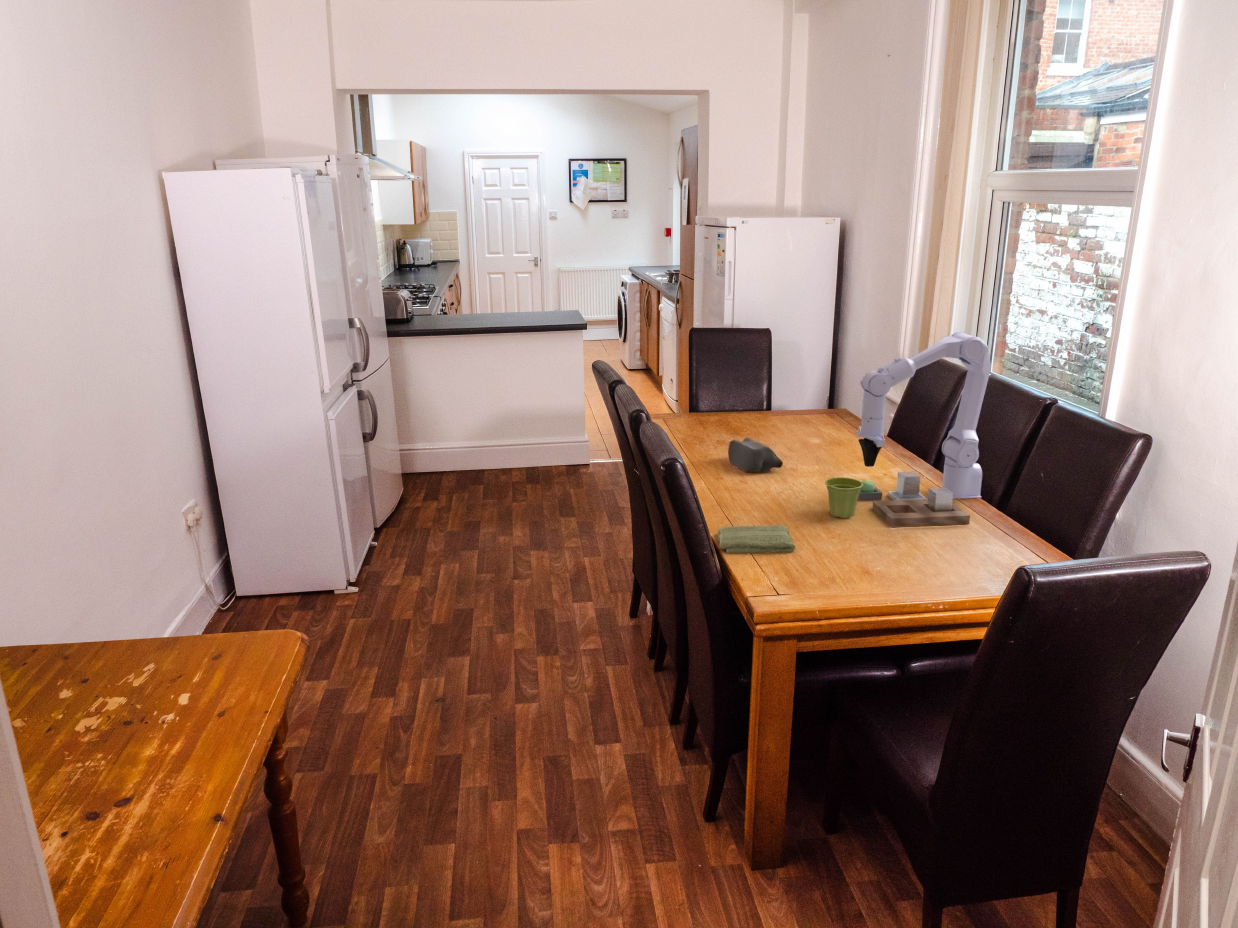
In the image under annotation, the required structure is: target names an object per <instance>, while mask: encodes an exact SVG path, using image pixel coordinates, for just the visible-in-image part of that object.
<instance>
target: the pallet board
mask: <svg viewBox="0 0 1238 928" xmlns="http://www.w3.org/2000/svg"><path fill="white" fill-rule="evenodd" d="M927 504H928V498H927V499H923V500H896V501H894V500H872V507H871V508H872V510H873V512H875V513H876V514H877V515H878V516H879V517H881V518H882V519H883V520H884V521H885V522H886V523H887V524H888V525H890V526H889V527H890V528H892V529H894V528H897V527H905V528H916V527H917V528H918V527H919V528H920V527H922V526H930V527H939V526H940V527H943V526H946V525H955V526H965V525H966V524H970V520H971V515H970V514H969V513H967V512H966V511H965V510H963V509H962V508H961V507H959V506H958V505H956V504H955V503H954V502H952V510H951V511H945V512H932V511H931V510H930V509H929V508H927Z"/></svg>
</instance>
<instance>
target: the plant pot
mask: <svg viewBox="0 0 1238 928" xmlns="http://www.w3.org/2000/svg"><path fill="white" fill-rule="evenodd" d="M824 484H825V486H826V489H827V492H828V493H827V494H828V502H829V514H830V515H831V516H832V517H834V518H840V519H850V518H851V517H853V516H855V513H856V508H857V503H858V500H859V499H858V495H859V492H860V490H861V487H862V486H863V483H862V481H861V480H859V479H856V478H850V477H832V478H827V479H826V480H825V481H824Z"/></svg>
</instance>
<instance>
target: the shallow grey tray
mask: <svg viewBox="0 0 1238 928" xmlns="http://www.w3.org/2000/svg"><path fill="white" fill-rule="evenodd" d="M887 497H889V498H890V499H891V501H896V500H923V499H928V497H926V496H924V495H923V494H922V493H921V492H919V498H915V499H898V498H897V497H896V490H893V491H891V490H890V491H887Z"/></svg>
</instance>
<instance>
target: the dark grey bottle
mask: <svg viewBox="0 0 1238 928" xmlns="http://www.w3.org/2000/svg"><path fill="white" fill-rule="evenodd" d="M727 449H728V450H727V451H728V452H727V453H728V460H729V462H730V465H731V466H732V465H733V466H732V467H734V466H735V467H734V468H736V467H737V468H736V469H739V470H742V471H744V472H746V473H749V472H758V471H760V472H767V473H769V472H770V471H771V470H772V469H774V468H778V469H780V468H782V467H783V464H784V463H783V460H782V459H781V458H779V457H778V456H777V454H776V453H775V451H773V449H772V448H770V447H769V446H767V445H764V444H763V443H762V442H759V441H755V440H753V439H752V438H751V437H745V438H744V439H743V440H741V441H740V440H736V439H732V440H731V441H730V442H729V444H728V448H727Z"/></svg>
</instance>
